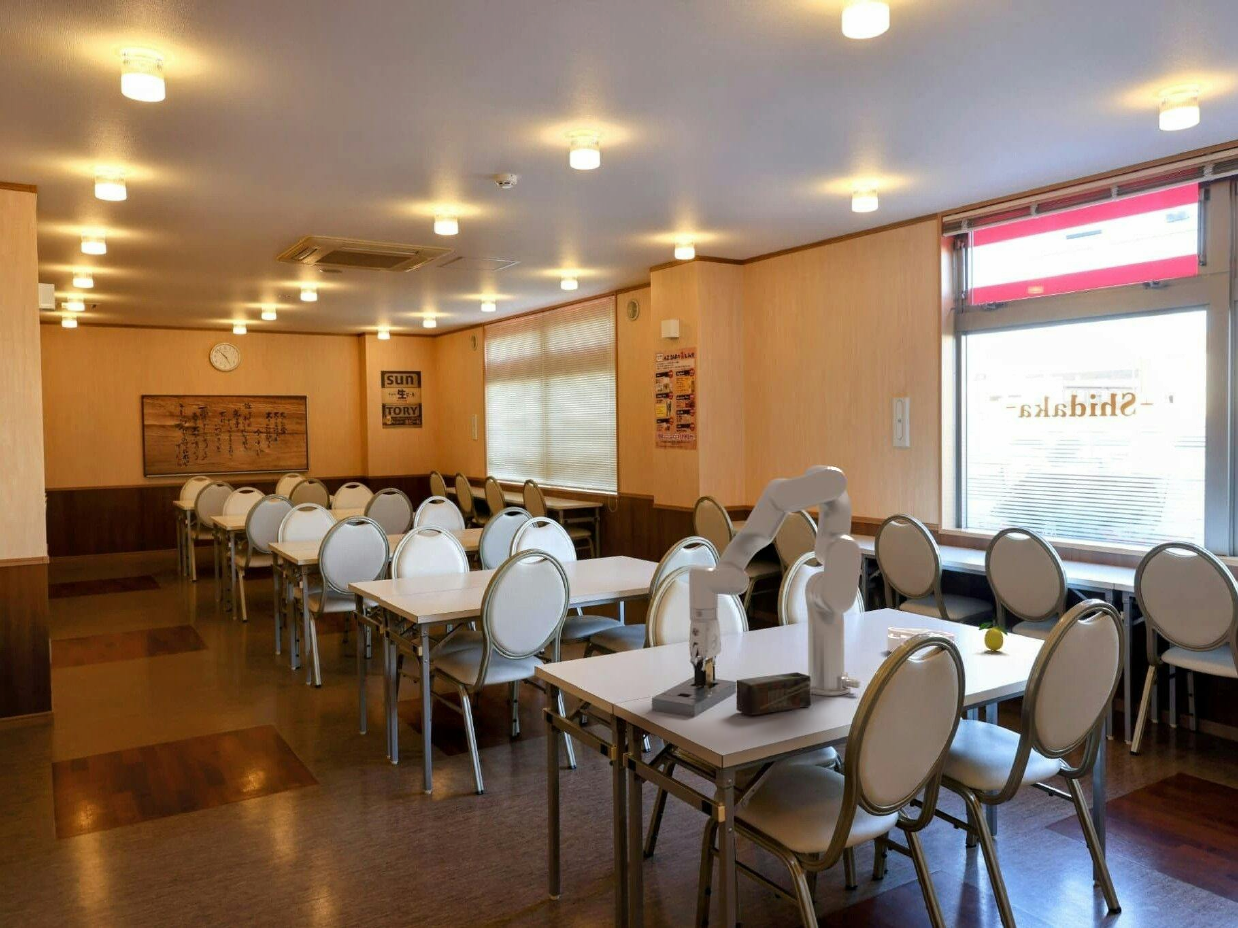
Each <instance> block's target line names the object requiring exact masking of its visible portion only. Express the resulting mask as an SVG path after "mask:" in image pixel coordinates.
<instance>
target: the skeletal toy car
mask: <svg viewBox="0 0 1238 928" xmlns="http://www.w3.org/2000/svg"><path fill="white" fill-rule="evenodd" d="M887 633H888V635H887V651H888V652H889V651H890V653H892V651H893V650H894V649H895V648H896V647H898V645H900V644H901V643H902V642H904V641H906V640H907V639H909V640H910V638H913V636H915V635H917V634H924V633H934V634H940V635H943V636H944V637H948V638H949V639H950V640H951V642H952V641H954V642H955V635H954V634H953V633H949V632H944V631H939V630H932V629H925V628H900V627H887ZM934 634H933V635H934ZM940 635H939V636H940Z"/></svg>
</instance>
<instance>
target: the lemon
mask: <svg viewBox="0 0 1238 928" xmlns="http://www.w3.org/2000/svg"><path fill="white" fill-rule="evenodd" d="M992 624H993V626H992V627H991V628H989V629H988V630H986V632H985V634H984V645H985V647H986V648H987V649H989V650H991V651H992V652H993V653H994V652H995V653H996V652H997V651H998V650H1000V649H1002V648H1003V646H1004V636H1003V634H1004V635H1006V636H1009V635H1008V632H1007V630H1006V629H1005V628H1004V627H1003V626H1000V625H995V621H993V622H983V623H982V624H981V625H980V626H979V628H978V631H983V630H985V629H987V628H988V627H990V626H991V625H992Z"/></svg>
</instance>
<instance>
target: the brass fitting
mask: <svg viewBox="0 0 1238 928" xmlns="http://www.w3.org/2000/svg"><path fill="white" fill-rule="evenodd" d="M698 658H701V656H698ZM698 662H700V663H702V661H700V660H698ZM713 666H714V665H713V658H710V659H708V660H705V670H706V685H705V686H701V685H696V687H701V688H708V689H710V688H712V687H713Z"/></svg>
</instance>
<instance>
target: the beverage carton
mask: <svg viewBox="0 0 1238 928" xmlns="http://www.w3.org/2000/svg"><path fill="white" fill-rule="evenodd" d="M811 696H812V693H811V678H810V676H808V674H807V675H806V674H805V673H801V672H789V673H788V672H787V673H781V674H780V673H779V674H773V675H764V676H755V677H749V678H742V679H737V680H736V710H737V711H738V712H741V713H742V714H744V715H747V716H755V715H760V714H768V713H775V712H781V711H786V710H794V709H799V708H803V707H804V708H805V707H811V705H812V699H811V698H812V697H811Z"/></svg>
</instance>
